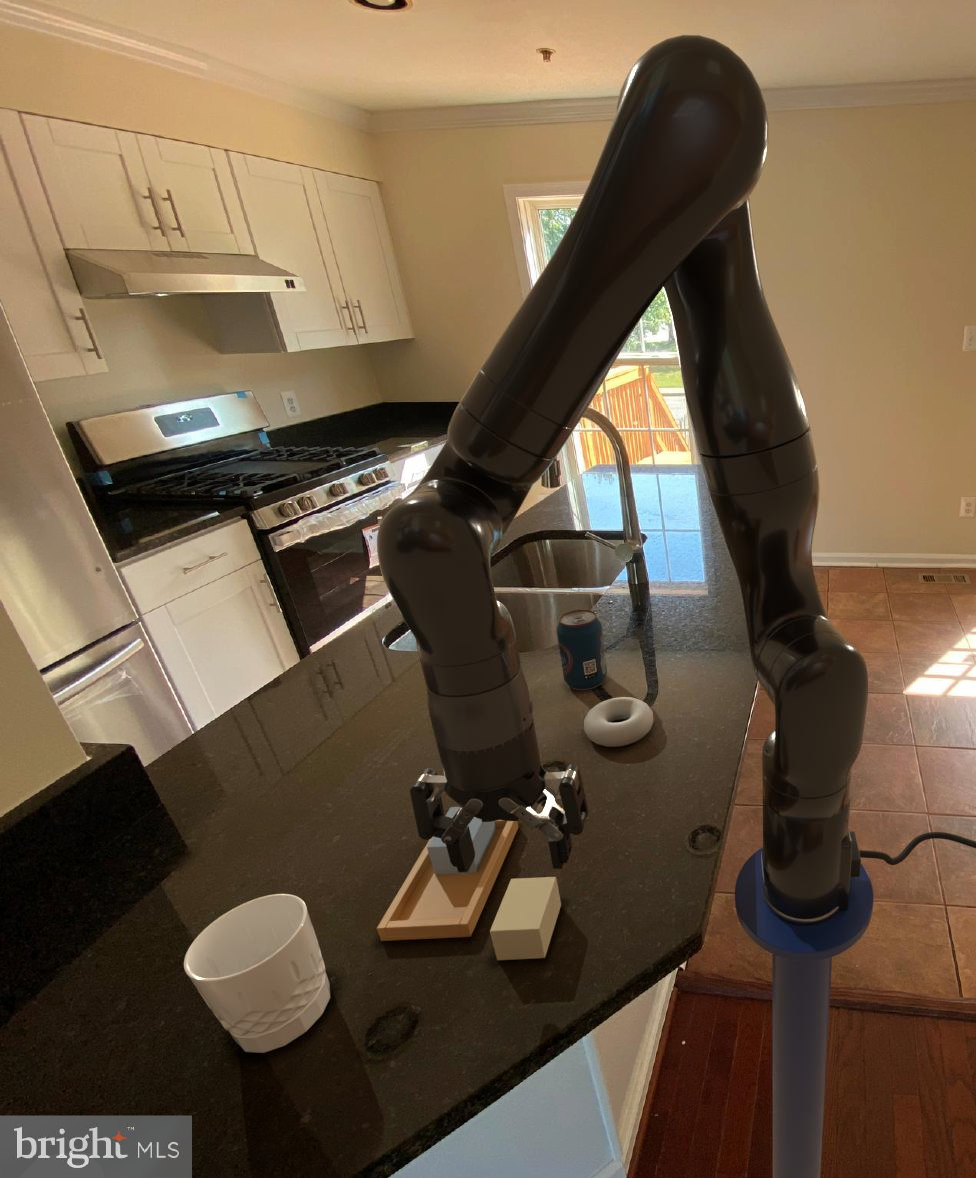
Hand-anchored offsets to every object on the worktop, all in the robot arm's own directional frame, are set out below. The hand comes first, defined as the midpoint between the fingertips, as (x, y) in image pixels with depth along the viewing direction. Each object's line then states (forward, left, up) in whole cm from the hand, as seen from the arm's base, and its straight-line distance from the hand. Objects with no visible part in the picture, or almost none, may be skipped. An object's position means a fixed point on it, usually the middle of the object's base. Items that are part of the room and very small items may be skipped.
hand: (514, 863), depth 59 cm
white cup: (+19, +7, -9) cm, 22 cm away
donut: (-3, -33, -9) cm, 34 cm away
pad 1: (+10, -10, -9) cm, 16 cm away
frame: (+10, -7, -9) cm, 15 cm away
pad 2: (0, 0, -9) cm, 9 cm away
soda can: (+5, -47, -9) cm, 48 cm away
